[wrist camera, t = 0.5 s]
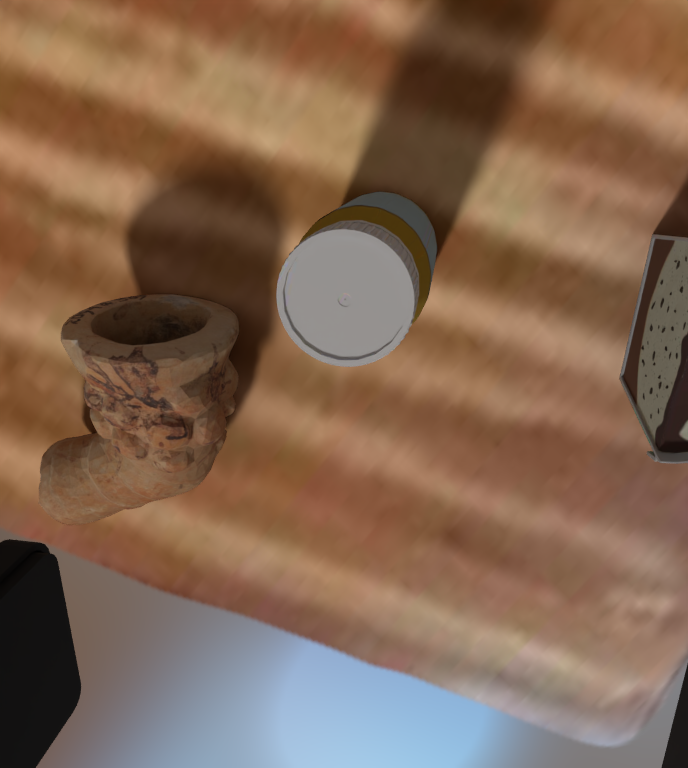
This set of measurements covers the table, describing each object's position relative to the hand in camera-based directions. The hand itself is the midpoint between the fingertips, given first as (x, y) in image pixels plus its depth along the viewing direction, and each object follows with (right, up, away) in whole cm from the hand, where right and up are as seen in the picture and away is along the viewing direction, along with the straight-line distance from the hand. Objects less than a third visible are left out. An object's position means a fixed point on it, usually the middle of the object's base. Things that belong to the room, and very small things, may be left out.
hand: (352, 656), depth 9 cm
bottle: (+2, +13, +32) cm, 35 cm away
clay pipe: (-14, +4, +39) cm, 41 cm away
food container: (+21, +8, +31) cm, 38 cm away
